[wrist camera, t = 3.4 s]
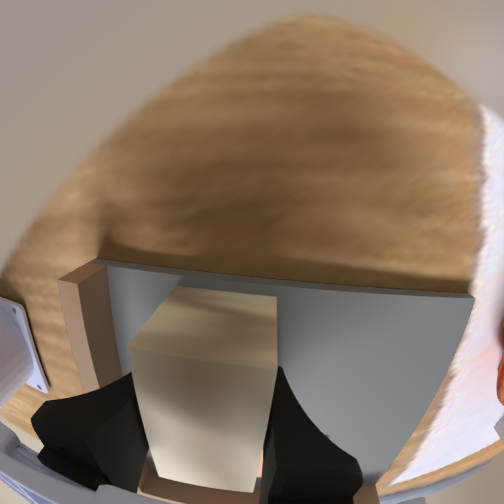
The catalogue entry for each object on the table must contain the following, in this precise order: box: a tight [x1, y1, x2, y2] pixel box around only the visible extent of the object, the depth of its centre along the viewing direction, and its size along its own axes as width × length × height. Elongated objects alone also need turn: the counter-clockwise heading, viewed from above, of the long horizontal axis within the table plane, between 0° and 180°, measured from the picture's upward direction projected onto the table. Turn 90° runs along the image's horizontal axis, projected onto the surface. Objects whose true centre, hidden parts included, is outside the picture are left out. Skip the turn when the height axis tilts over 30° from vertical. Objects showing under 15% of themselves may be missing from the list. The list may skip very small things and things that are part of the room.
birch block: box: [127, 285, 278, 493], centre depth 11 cm, size 4×8×5 cm, turn 175°
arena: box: [58, 258, 475, 504], centre depth 14 cm, size 20×19×3 cm
